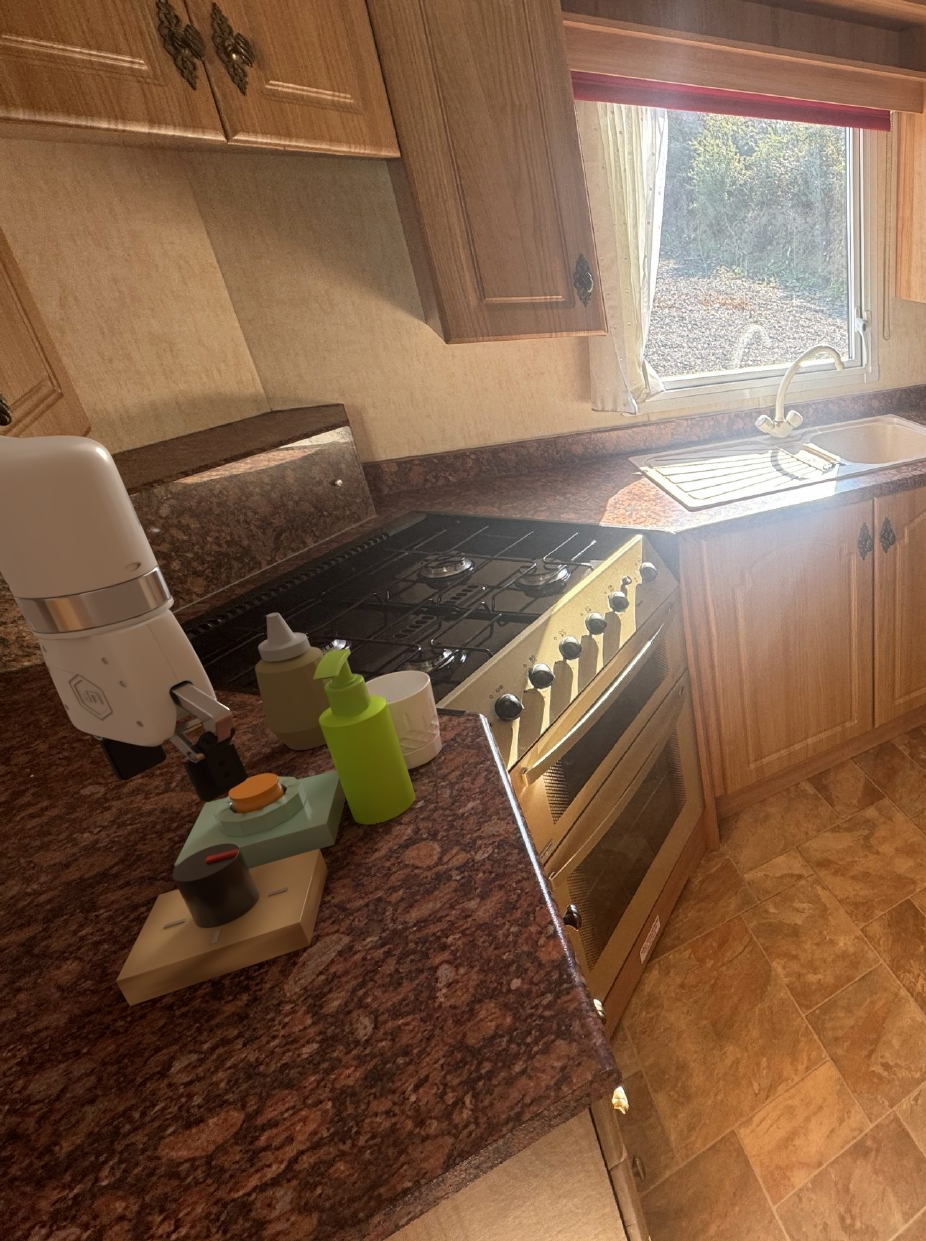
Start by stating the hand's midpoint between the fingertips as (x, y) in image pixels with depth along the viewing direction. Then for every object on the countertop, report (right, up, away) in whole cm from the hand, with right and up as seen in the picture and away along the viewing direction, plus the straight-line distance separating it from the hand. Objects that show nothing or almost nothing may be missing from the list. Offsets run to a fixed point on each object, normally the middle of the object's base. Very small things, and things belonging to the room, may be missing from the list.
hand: (183, 779), depth 62 cm
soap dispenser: (+2, -10, +21) cm, 23 cm away
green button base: (-7, -11, +17) cm, 22 cm away
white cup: (-1, -6, +30) cm, 30 cm away
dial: (-1, -13, +4) cm, 14 cm away
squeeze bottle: (-16, -5, +33) cm, 37 cm away
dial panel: (-1, -16, +6) cm, 17 cm away
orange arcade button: (-7, -7, +15) cm, 18 cm away
